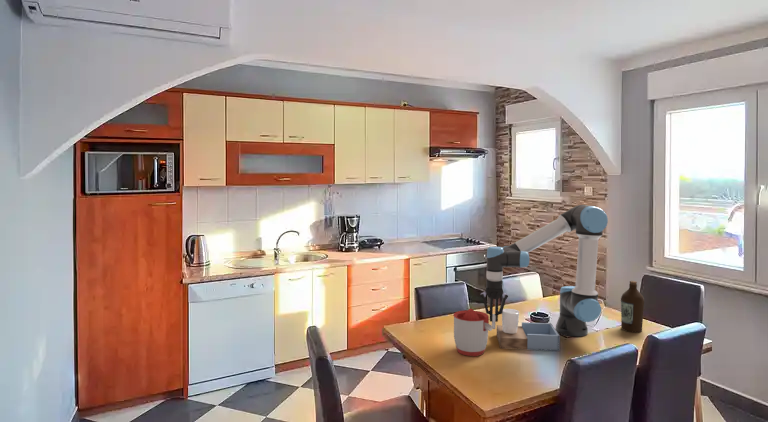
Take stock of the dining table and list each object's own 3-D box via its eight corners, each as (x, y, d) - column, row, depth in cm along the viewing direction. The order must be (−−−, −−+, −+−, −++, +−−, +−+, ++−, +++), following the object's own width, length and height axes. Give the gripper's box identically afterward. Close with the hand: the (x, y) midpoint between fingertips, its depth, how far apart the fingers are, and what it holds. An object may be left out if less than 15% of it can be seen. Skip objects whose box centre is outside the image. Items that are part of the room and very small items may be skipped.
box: (551, 337, 231) (551, 323, 231) (559, 351, 213) (559, 335, 213) (521, 336, 233) (521, 322, 233) (527, 349, 215) (527, 334, 215)
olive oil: (630, 325, 249) (631, 278, 247) (648, 331, 239) (650, 282, 237) (615, 327, 245) (616, 280, 243) (633, 334, 235) (634, 284, 233)
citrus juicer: (485, 362, 201) (485, 316, 200) (447, 354, 211) (447, 310, 209) (497, 350, 215) (497, 307, 213) (461, 343, 224) (461, 302, 222)
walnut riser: (521, 336, 233) (521, 326, 233) (527, 349, 215) (527, 338, 215) (496, 335, 235) (496, 325, 234) (500, 348, 217) (500, 337, 217)
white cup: (518, 335, 220) (519, 314, 219) (501, 333, 222) (502, 312, 221) (517, 329, 228) (518, 309, 227) (500, 328, 230) (501, 307, 229)
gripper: (507, 278, 227) (506, 326, 229) (480, 277, 229) (479, 325, 230) (509, 281, 219) (508, 331, 221) (481, 280, 221) (480, 330, 223)
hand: (493, 328), depth 226 cm, fingers closed
